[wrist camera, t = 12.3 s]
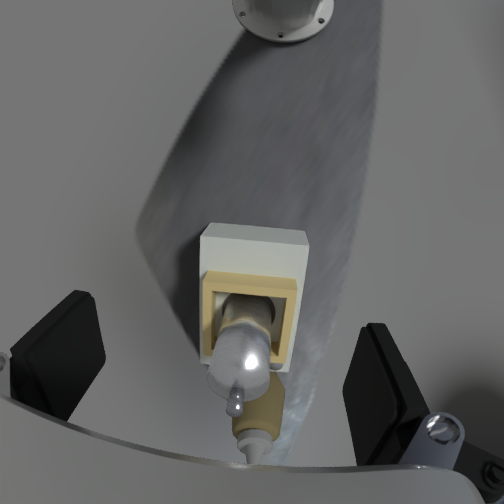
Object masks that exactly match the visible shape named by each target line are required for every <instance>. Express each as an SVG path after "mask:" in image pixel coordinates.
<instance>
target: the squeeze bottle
mask: <svg viewBox="0 0 504 504" xmlns="http://www.w3.org/2000/svg"><path fill="white" fill-rule="evenodd" d="M284 399H285V389H284V387H283V385H282V383H281V381H280V379H279V377H278V376H277V374H276V372H275V371H270V383H269V387H268V389H267V391H266V392H265V393H264V394H263V395H262V396H260V397H259V398H257V399H254V400H251V401H245V402H244V405H243V413H242V415H241V416H239V417H232V432H233V435H234V436H235V437H236V438H237V440H238V441H237V448H238V449H239V450H240V451H241V452H242V453H244V454H246V459H247V464H255V465H260V462H261V459H262V456H263V455H265V454H267V453H269V452H270V451H271V450H272V448H273V441H275V440H276V439H277V438H278V437H279V435H280V428H281V421H282V414H283V406H284Z"/></svg>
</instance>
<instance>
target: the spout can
mask: <svg viewBox="0 0 504 504" xmlns="http://www.w3.org/2000/svg"><path fill="white" fill-rule="evenodd" d="M270 352H271V307H270V305H269V303H268V302H267V301H266V300H265V299H264V298H263V297H262V296H259V295H249V294H237V295H235V296H233V297H232V298H231V299H230V300H229V301H228V303H227V305H226V309H225V312H224V316H223V319H222V323H221V326H220V330H219V333H218V337H217V341H216V344H215V348H214V351H213V355H212V359H211V362H210V366H209V369H208V373H207V381H208V384H209V386H210V387H211V389H212V390H213V391H214V392H215V393H216V394H218V395H219V396H221V397H223V398H225V399H228V404H227V409H226V413H227V414H228V415H229V416H231V417H239V416H241V415H242V413H243V405H244V402H245V401H251V400H254V399H257V398H259V397H260V396H262V395H263V394H264V393H265V392H266V391H267V389H268V387H269V383H270Z"/></svg>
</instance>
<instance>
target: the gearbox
mask: <svg viewBox="0 0 504 504" xmlns="http://www.w3.org/2000/svg"><path fill="white" fill-rule="evenodd" d="M308 252H309V243H308V240H307V237H306V234H305V231H300V230H290V229H279V228H269V227H258V226H247V225H235V224H223V223H210V224H209V225H208V227H207V228H206V229H205V230H204V232H203V233H202V234H201V236H200V291H199V309H200V363H203V364H210V362H211V359H212V355H213V351H214V348H215V344H216V341H217V337H218V333H219V330H220V326H221V323H222V319H223V316H224V312H225V309H226V305H227V303H228V301H229V300H230V299H231V298H232V297H233V296H235V295H237V294H249V295H259V296H262V297H263V298H264V299H265V300H266V301H267V302H268V303H269V305H270V307H271V352H270V371H277V372H289V367H290V361H291V356H292V351H293V345H294V340H295V334H296V328H297V323H298V317H299V311H300V305H301V299H302V292H303V286H304V280H305V273H306V266H307V259H308Z"/></svg>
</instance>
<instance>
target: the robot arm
mask: <svg viewBox="0 0 504 504" xmlns="http://www.w3.org/2000/svg"><path fill="white" fill-rule="evenodd" d="M232 5H233V9H234V13H235V15H236V17H237V19H238V20H239V22H240V23H241V25H242V26H243V27H244V28H246V29H247V30H248V31H249V32H251V33H252V34H254V35H255V36H258V37H260V38H262V39H265V40H269V41H272V42H280V43H293V42H299V41H303V40H306V39H309V38H311V37H313V36H315V35H317V34H318V33H320V32H321V31H322V30H323V29H324V28H325V27H326V26H327V24H328V23H329V21H330V19H331V17H332V14H333V10H334V1H333V0H232ZM243 15H244V16H245V17H242V16H243ZM319 22H322V24H320V23H319ZM279 36H283V38H279ZM10 351H11V354H12V357H11V358H10V359H9V357H8V356H7V354H4V353H3V352H0V504H504V460H503V459H501V458H499V457H497V456H494V455H492V454H490V453H488V452H486V451H484V450H482V449H480V448H478V447H476V446H474V445H472V444H469V443H467V442H465V441H463V440H464V434H465V432H464V428H463V426H462V424H461V423H460V421H458V419H457V418H455V417H453V416H452V415H450V414H447V413H444V412H435V413H430V411H429V409H428V407H427V405H426V402H425V401H424V398H423V396H422V394H421V392H420V390H419V388H418V386H417V383H416V381H415V379H414V377H413V375H412V373H411V371H410V369H409V367H408V365H407V364H406V362H405V361H404V359H403V357H402V355H401V353H400V351H399V350H398V348H397V346H396V344H395V342H394V340H393V338H392V336H391V334H390V332H389V331H388V328H387V327H386V325H385V324H383V323H368V324H367V326H366V327H362V328H361V331H360V334H359V337H358V341H357V344H356V347H355V351H354V354H353V357H352V360H351V364H350V367H349V370H348V373H347V376H346V379H345V382H344V385H343V397H344V402H345V407H346V412H347V416H348V422H349V426H350V431H351V436H352V442H353V447H354V452H355V457H356V463H357V466H349V467H287V466H268V465H255V464H243V463H235V462H227V461H219V460H212V459H205V458H199V457H193V456H187V455H182V454H177V453H172V452H167V451H163V450H158V449H154V448H150V447H146V446H142V445H138V444H134V443H130V442H126V441H123V440H120V439H116V438H113V437H110V436H106V435H103V434H100V433H97V432H94V431H91V430H88V429H85V428H82V427H79V426H77V425H74V424H71V423H69V422H67V421H68V419H69V417H70V416H71V414H72V413H73V411H74V410H75V408H76V406H77V405H78V403H79V402H80V400H81V399H82V397H83V396H84V394H85V393H86V391H87V389H88V388H89V386H90V385H91V383H92V382H93V380H94V379H95V377H96V376H97V374H98V373H99V371H100V370H101V369H102V367H103V365H104V364H105V360H106V355H105V350H104V346H103V342H102V337H101V332H100V327H99V322H98V316H97V310H96V305H95V300H94V298H93V297H91V294H90V293H89V292H85V291H79V290H74V291H73V292H72V293H70V294H69V295H68V296H67V297H66V298H65V299H64V300H63V301H61V302H60V303H59V304H58V305H57V306H56V307H54V308H53V309H52V310H51V311H50V312H49V313H48V314H47V315H46V316H44V317H43V318H42V319H41V320H40V321H39V322H38V323H37V324H36V325H35V326H34V327H32V328H31V329H30V330H29V332H27V333H26V334H25V335H24V336H23V337H22V338H21V339H20V340H19V341H18V342H17V343H16V344H15V345H14V346H13V347H12V348H10Z"/></svg>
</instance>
